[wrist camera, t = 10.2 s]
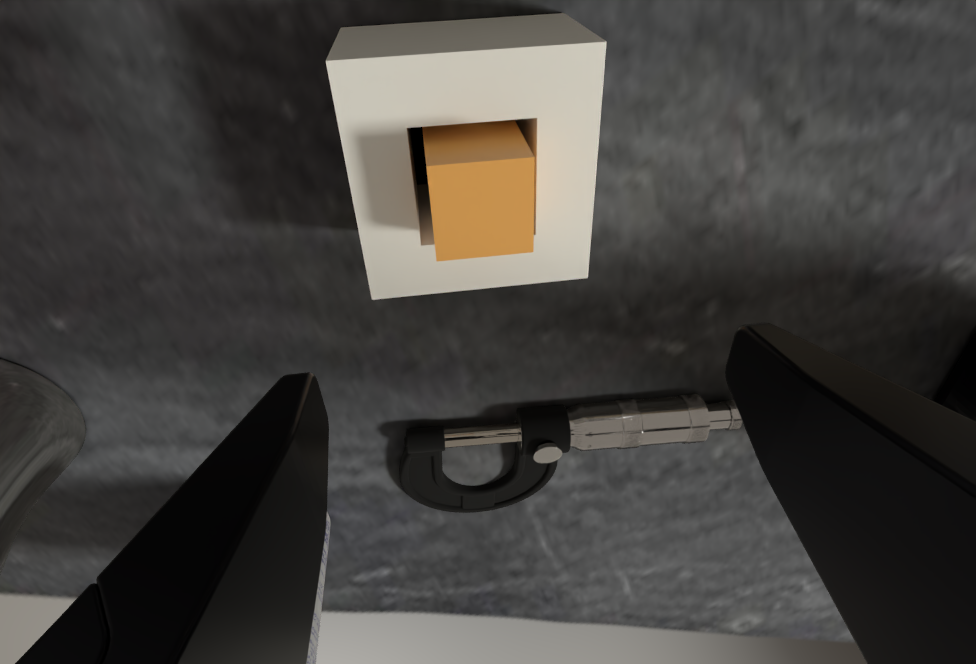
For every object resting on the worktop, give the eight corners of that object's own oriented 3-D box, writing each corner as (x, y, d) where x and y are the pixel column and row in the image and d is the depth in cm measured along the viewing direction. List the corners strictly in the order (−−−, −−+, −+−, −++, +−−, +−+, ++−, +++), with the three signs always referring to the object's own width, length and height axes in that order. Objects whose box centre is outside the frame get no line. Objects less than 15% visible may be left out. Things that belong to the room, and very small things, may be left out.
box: (556, 215, 19) (587, 278, 16) (376, 232, 19) (371, 299, 16) (564, 13, 16) (606, 41, 12) (340, 27, 15) (325, 60, 12)
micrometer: (405, 509, 28) (405, 556, 26) (392, 405, 24) (392, 452, 22) (693, 482, 30) (715, 524, 28) (730, 380, 26) (758, 421, 24)
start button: (513, 199, 16) (533, 252, 14) (430, 207, 16) (436, 261, 13) (512, 115, 15) (534, 157, 12) (421, 122, 14) (425, 165, 12)
